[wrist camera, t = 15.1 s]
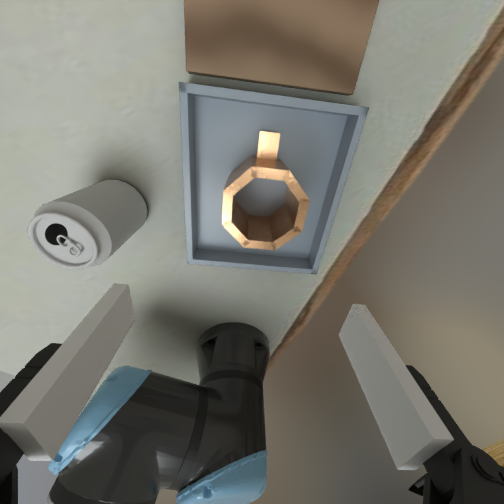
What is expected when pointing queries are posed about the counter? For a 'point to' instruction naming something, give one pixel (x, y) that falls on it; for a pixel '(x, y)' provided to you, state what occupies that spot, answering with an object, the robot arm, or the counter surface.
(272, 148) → the mug
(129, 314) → the robot arm
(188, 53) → the stake stand
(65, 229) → the can
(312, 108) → the tray
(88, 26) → the counter surface
